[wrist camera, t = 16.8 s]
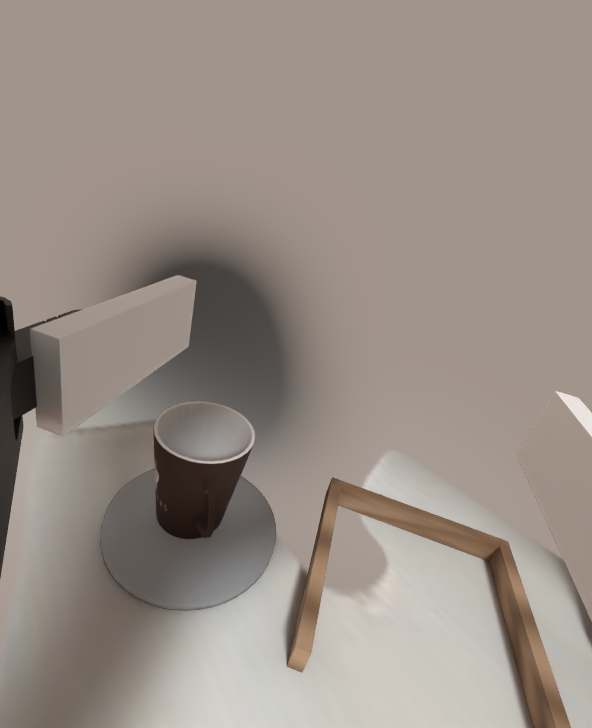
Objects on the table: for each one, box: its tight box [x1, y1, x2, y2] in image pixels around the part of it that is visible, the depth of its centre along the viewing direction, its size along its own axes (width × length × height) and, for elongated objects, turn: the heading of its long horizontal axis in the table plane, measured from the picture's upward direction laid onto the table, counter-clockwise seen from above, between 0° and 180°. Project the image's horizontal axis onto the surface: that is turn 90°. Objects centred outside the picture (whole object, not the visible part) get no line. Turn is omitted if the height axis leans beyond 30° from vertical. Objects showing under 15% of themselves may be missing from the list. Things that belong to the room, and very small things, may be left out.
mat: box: [101, 469, 276, 610], centre depth 38 cm, size 16×16×1 cm
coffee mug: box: [154, 401, 255, 539], centre depth 35 cm, size 12×9×10 cm
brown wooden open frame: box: [287, 478, 571, 728], centre depth 36 cm, size 19×20×2 cm
